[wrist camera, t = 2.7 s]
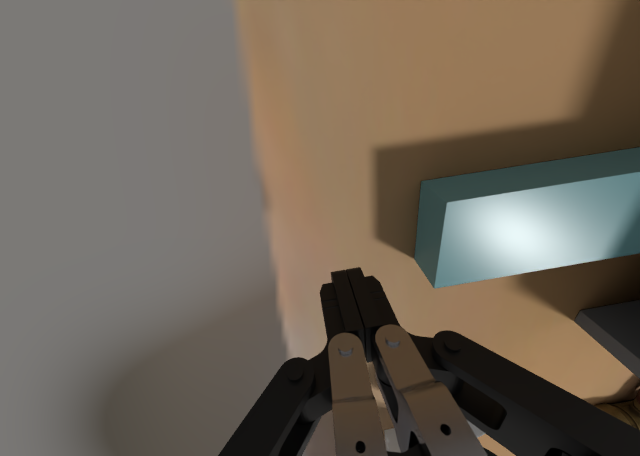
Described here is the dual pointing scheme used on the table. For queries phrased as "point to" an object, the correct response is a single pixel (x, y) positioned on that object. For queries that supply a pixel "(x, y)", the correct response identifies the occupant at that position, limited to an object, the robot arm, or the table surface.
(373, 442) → the robot arm
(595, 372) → the table surface
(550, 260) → the teal rectangular slab
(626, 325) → the overhang shelf
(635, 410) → the gavel
